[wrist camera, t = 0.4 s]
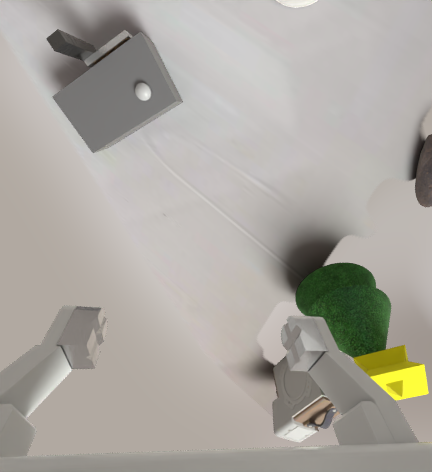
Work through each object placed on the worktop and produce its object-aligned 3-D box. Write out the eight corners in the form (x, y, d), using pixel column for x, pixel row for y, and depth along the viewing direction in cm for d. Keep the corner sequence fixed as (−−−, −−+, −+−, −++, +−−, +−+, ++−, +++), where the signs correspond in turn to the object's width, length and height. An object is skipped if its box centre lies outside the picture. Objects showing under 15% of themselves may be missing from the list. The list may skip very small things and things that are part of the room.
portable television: (264, 375, 86) (281, 493, 60) (304, 337, 76) (347, 459, 49) (291, 384, 89) (319, 501, 62) (333, 349, 78) (389, 472, 52)
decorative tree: (279, 265, 62) (320, 380, 36) (354, 237, 58) (464, 346, 31) (301, 312, 70) (348, 434, 44) (368, 291, 66) (465, 414, 39)
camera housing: (152, 41, 41) (138, 28, 34) (182, 101, 45) (175, 101, 38) (74, 97, 45) (48, 95, 38) (109, 147, 49) (90, 154, 42)
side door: (133, 30, 39) (94, -2, 28) (140, 45, 40) (106, 20, 29) (96, 58, 41) (46, 38, 30) (104, 71, 42) (59, 57, 31)
